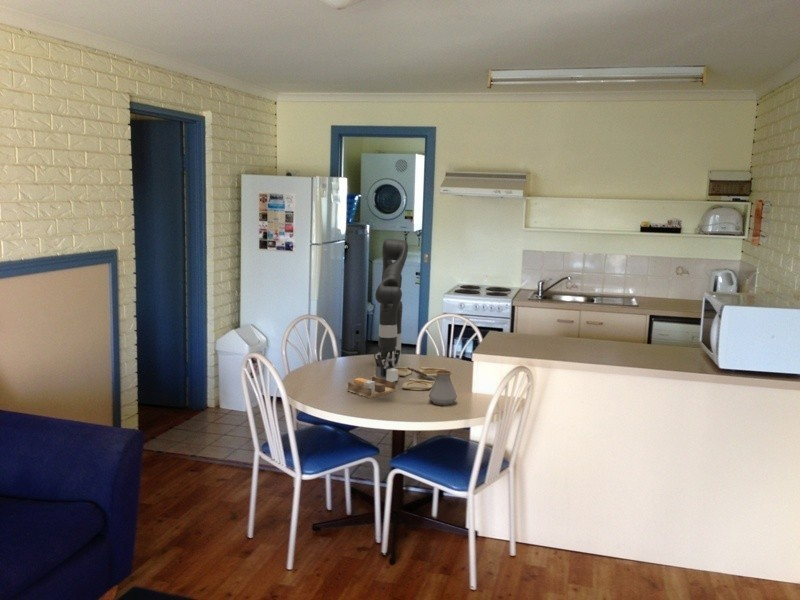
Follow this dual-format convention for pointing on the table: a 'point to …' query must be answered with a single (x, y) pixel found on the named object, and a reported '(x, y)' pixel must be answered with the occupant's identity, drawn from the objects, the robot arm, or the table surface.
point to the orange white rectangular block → (365, 383)
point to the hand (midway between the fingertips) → (386, 375)
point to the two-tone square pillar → (388, 374)
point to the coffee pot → (440, 387)
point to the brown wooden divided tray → (380, 388)
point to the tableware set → (424, 370)
